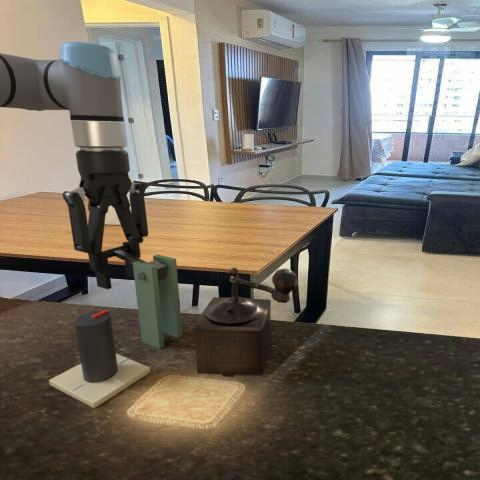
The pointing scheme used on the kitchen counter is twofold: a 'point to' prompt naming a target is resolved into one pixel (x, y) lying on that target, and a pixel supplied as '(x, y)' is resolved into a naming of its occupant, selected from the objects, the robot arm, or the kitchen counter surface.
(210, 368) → the coffee grinder
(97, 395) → the dial panel
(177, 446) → the kitchen counter surface
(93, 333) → the cylinder
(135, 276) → the green lever stand
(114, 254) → the dark grey lever
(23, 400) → the kitchen counter surface
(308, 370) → the kitchen counter surface
